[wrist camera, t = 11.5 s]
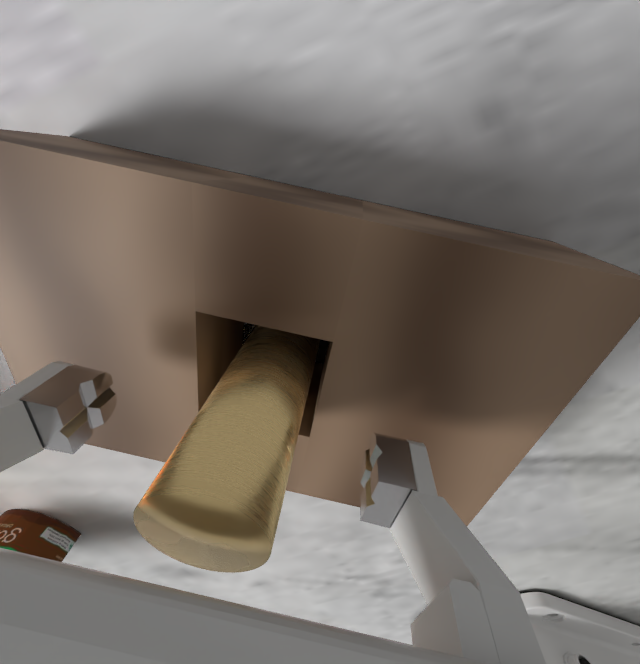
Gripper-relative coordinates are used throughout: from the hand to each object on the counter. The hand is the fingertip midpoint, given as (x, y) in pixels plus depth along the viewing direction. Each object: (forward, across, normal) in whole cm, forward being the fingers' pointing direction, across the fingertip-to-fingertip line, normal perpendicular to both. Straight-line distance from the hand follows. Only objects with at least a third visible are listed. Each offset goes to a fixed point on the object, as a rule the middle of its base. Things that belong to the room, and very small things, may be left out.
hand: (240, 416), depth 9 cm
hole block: (+7, 0, 0) cm, 7 cm away
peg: (+7, 0, 0) cm, 7 cm away
